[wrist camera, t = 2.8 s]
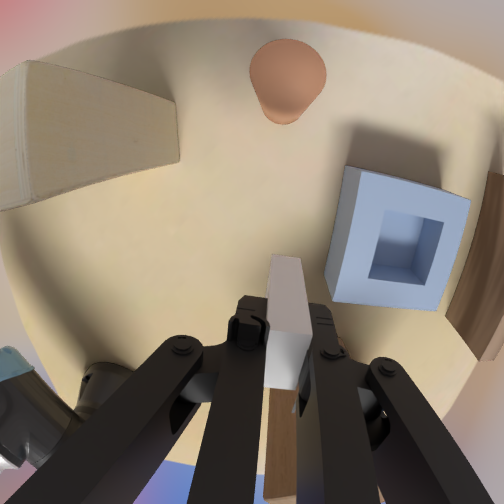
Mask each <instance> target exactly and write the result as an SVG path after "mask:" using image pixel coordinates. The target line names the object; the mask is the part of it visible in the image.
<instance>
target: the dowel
mask: <svg viewBox="0 0 504 504" xmlns="http://www.w3.org/2000/svg"><path fill="white" fill-rule="evenodd" d="M250 78H251V82H252V84H253V87H254V89H255V92H256V94H257V97H258V99H259V102H260V104H261V107H262V109H263V112H264V114H265V115H266V117H267V118H268V119H269V120H271V121H272V122H274V123H277V124H290V123H292V122H294V121H296V120H297V119H298V118H299V117H300V115H301V114H302V113H303V112H304V111H305V110H306V109H307V107H308V106H309V105H310V104H311V103H312V102H313V101H314V99H315V98H316V97H317V96H318V95H319V94H320V92H321V91H322V89H323V87H324V85H325V82H326V68H325V64H324V62H323V60H322V58H321V56H320V55H319V54H318V53H317V52H316V51H315V50H314V49H313V48H312V47H311V46H309V45H307V44H305V43H303V42H300V41H297V40H292V39H280V40H275V41H272V42H270V43H268V44H266V45H264V46H263V47H261V48H260V49H259V50H258V51H257V52H256V54H255V55H254V57H253V59H252V61H251V64H250Z"/></svg>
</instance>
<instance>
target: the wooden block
mask: <svg viewBox="0 0 504 504" xmlns="http://www.w3.org/2000/svg"><path fill="white" fill-rule="evenodd" d="M338 341H339V345H341V346H342V347H344V348H345V349H346V347H345V345H344V343H343V341H342V339H340V338H338ZM346 350H347V349H346ZM347 352H348V351H347ZM348 354H349V353H348ZM349 357H350V355H349ZM350 359H351V358H350ZM298 392H299V382H298V384H297V387H296V390H287V389H277V388H270V395H269V414H268V431H267V447H266V463H265V477H264V491H263V498H264V500H265V501H266V502H268V503H270V504H296V482H297V447H296V410H295V412H294V413H291V412H292V409H293V406H294V403H295V400H296V397H297V394H298ZM378 490H379V496H380V503H382V502H385V500H384V498H383V496H382V494H381V492H380V489H379V487H378Z"/></svg>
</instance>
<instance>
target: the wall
mask: <svg viewBox="0 0 504 504" xmlns="http://www.w3.org/2000/svg"><path fill="white" fill-rule="evenodd" d="M445 317H446V318H447V319H448V320H449V322H450V323H451V324H452V326H453V327H454V328H455V329H456V331H457V332H458V333H459V335H460V336H461V337H462V339H463V340H464V341H465V343H466V344H467V346H468V347H469V348H470V350H471V351H472V352H473V354H474V355H475V357H476V358H477V360H478V361H479V362H480V361H491V360H494V359H495V358H496V356H497V354H498V352H499V350H500V349H501V347H502V345H503V343H504V175H501V174H497V173H493V172H489V171H488V177H487V183H486V188H485V193H484V198H483V202H482V207H481V211H480V215H479V219H478V223H477V227H476V231H475V234H474V238H473V241H472V245H471V248H470V251H469V255H468V258H467V261H466V264H465V267H464V270H463V272H462V275H461V278H460V281H459V283H458V286H457V289H456V291H455V294H454V296H453V299H452V301H451V304H450V306H449V309H448V311H447V313H446V316H445Z"/></svg>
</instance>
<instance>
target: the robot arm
mask: <svg viewBox="0 0 504 504" xmlns="http://www.w3.org/2000/svg"><path fill="white" fill-rule="evenodd" d="M34 369H35V368H34V367H33V366H31V365H30V364H29V363H28V362H27V361H26V359H25V358H24V357H23V356H22V355H21V354H20V353H19V351H18V350H17V349H15V348H14V347H11V346H5V347H3V348H1V349H0V474H1V473H2V471H3V470H4V469H6V468H9V469H19V468H20V467H21V465H22V464H23V462H24V461H26V460H27V461H28V462H29V463H30V464H31V465H33V466H34V467H35V468H36V469H37V471H35V473H34V474H33V475H32V476H31V477H30V478H29V479H28V480H27V481H26V482H25V483H24V484H23V485H22V486H21V487H20V488H19V489H18V490H17V491H16V492H15V493H14V494H13V495H12V496H11V497H10V498H9V499H8V500H7V501H6V502H5V503H4V504H133V502H134V501H135V499H136V498H137V497H138V495H139V494H140V492H141V491H142V490H143V488H144V487H145V486H146V484H147V483H148V481H149V480H150V479H151V477H152V476H153V474H154V473H155V471H156V470H157V469H158V467H159V466H160V464H161V463H162V461H163V460H164V459H165V457H166V456H167V455H168V453H169V452H170V450H171V449H172V447H173V446H174V444H175V443H176V441H177V440H178V438H179V437H180V436H181V434H182V433H183V431H184V430H185V428H186V427H187V425H188V424H189V422H190V421H191V419H192V418H193V416H194V415H195V413H196V412H197V410H198V409H199V407H200V406H201V403H202V402H212V403H211V407H210V411H209V415H208V419H207V423H206V427H205V431H204V435H203V439H202V443H201V447H200V451H199V455H198V459H197V463H196V467H195V471H194V475H193V480H192V484H191V488H190V492H189V496H188V500H187V504H253V503H254V493H255V482H256V472H257V462H258V451H259V439H260V427H261V415H262V403H263V390H264V387H268V388H277V389H287V390H296V387H297V384H298V382H299V392H298V394H297V397H296V400H295V403H294V406H293V409H292V412H291V413H294V412H295V410H296V447H297V482H296V504H381V503H380V496H379V490H378V487H379V489H380V492H381V494H382V496H383V498H384V500H385V502H386V504H494V502H493V501H492V499H491V498H490V496H489V494H488V492H487V491H486V489H485V488H484V486H483V484H482V483H481V481H480V479H479V478H478V476H477V474H476V473H475V471H474V470H473V468H472V466H471V465H470V463H469V462H468V460H467V459H466V457H465V456H464V454H463V453H462V451H461V449H460V448H459V446H458V445H457V443H456V442H455V440H454V439H453V437H452V436H451V434H450V433H449V432H448V430H447V429H446V427H445V426H444V424H443V423H442V421H441V420H440V418H439V417H438V416H437V414H436V413H435V411H434V410H433V408H432V407H431V406H430V404H429V403H428V401H427V400H426V399H425V397H424V396H423V394H422V393H421V392H420V390H419V389H418V387H417V386H416V385H415V383H414V382H413V381H412V379H411V378H410V377H409V375H408V374H407V372H406V371H405V370H404V368H403V367H402V366H401V365H400V364H399V363H398V362H396V361H395V360H393V359H390V358H387V357H378V358H375V359H374V360H373V361H372V362H371V363H370V365H367V364H363V363H360V362H357V361H354V360H352V359H350V357H349V354H348V352H347V350H346V349H345V348H344V347H342V346H341V345H339V341H338V337H337V333H336V330H335V326H334V322H333V318H332V314H331V311H330V310H329V309H328V308H327V307H326V306H325V305H322V304H313V303H308V300H307V294H306V288H305V282H304V276H303V270H302V264H301V258H297V257H290V256H283V255H276V254H272V257H271V263H270V270H269V276H268V282H267V289H266V295H265V298H261V297H254V296H247V295H245V296H243V297H242V298H241V299H240V300H239V301H238V305H237V309H236V314H235V315H234V316H232V317H231V318H230V320H229V323H228V333H227V340H226V341H225V342H224V343H222V344H219V345H215V346H202V344H201V342H200V341H199V340H198V339H196V338H194V337H191V336H187V335H176V336H173V337H170V338H168V339H167V340H165V341H164V342H163V343H162V344H161V345H160V346H159V347H158V348H157V349H156V350H155V352H154V353H153V354H152V355H151V356H150V357H149V358H148V359H147V360H146V361H145V362H144V363H143V364H142V365H141V366H140V367H139V368H138V369H137V370H136V371H135V372H132V371H130V370H128V369H126V368H124V367H121V366H119V365H116V364H112V363H105V362H101V363H95V364H93V365H91V366H90V367H89V369H88V370H87V371H86V373H85V374H84V376H83V378H82V382H81V386H80V391H79V396H78V401H77V405H76V407H75V409H74V410H72V409H71V408H70V407H69V406H68V405H67V404H66V403H65V402H64V401H63V400H62V399H61V398H60V397H59V396H58V395H57V394H56V393H55V392H54V391H53V390H52V389H51V388H50V387H49V386H48V385H47V383H46V382H45V381H44V380H43V379H42V378H41V377H40V376H39V374H38V373H37V372H36V371H35V370H34ZM383 411H384V412H385V414H386V415H387V416H386V415H385V414H384V412H383Z"/></svg>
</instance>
